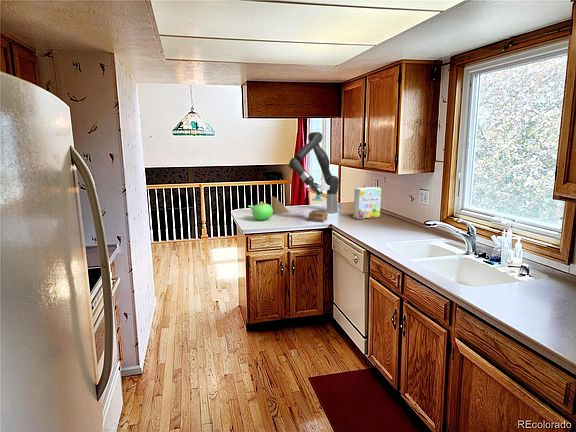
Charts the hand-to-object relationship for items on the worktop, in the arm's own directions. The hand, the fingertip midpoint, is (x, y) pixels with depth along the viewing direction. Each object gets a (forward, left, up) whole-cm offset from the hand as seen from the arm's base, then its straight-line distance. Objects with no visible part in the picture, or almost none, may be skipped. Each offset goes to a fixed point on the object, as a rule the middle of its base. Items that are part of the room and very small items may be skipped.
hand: (320, 193), depth 320 cm
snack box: (-41, +4, -22) cm, 46 cm away
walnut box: (+1, -1, -22) cm, 22 cm away
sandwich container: (+20, -43, -23) cm, 53 cm away
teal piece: (+1, -1, -5) cm, 5 cm away
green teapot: (+44, -18, -22) cm, 53 cm away
